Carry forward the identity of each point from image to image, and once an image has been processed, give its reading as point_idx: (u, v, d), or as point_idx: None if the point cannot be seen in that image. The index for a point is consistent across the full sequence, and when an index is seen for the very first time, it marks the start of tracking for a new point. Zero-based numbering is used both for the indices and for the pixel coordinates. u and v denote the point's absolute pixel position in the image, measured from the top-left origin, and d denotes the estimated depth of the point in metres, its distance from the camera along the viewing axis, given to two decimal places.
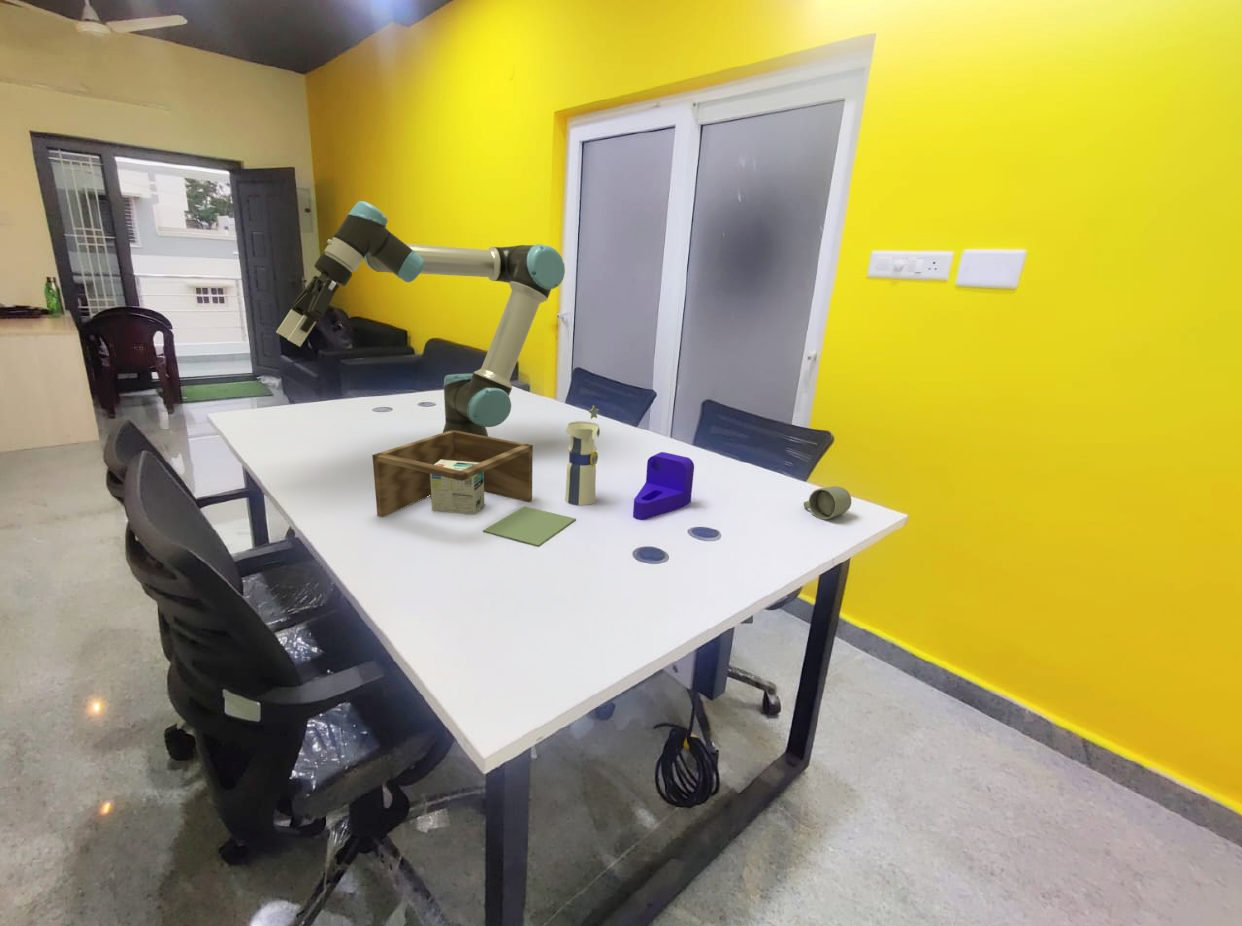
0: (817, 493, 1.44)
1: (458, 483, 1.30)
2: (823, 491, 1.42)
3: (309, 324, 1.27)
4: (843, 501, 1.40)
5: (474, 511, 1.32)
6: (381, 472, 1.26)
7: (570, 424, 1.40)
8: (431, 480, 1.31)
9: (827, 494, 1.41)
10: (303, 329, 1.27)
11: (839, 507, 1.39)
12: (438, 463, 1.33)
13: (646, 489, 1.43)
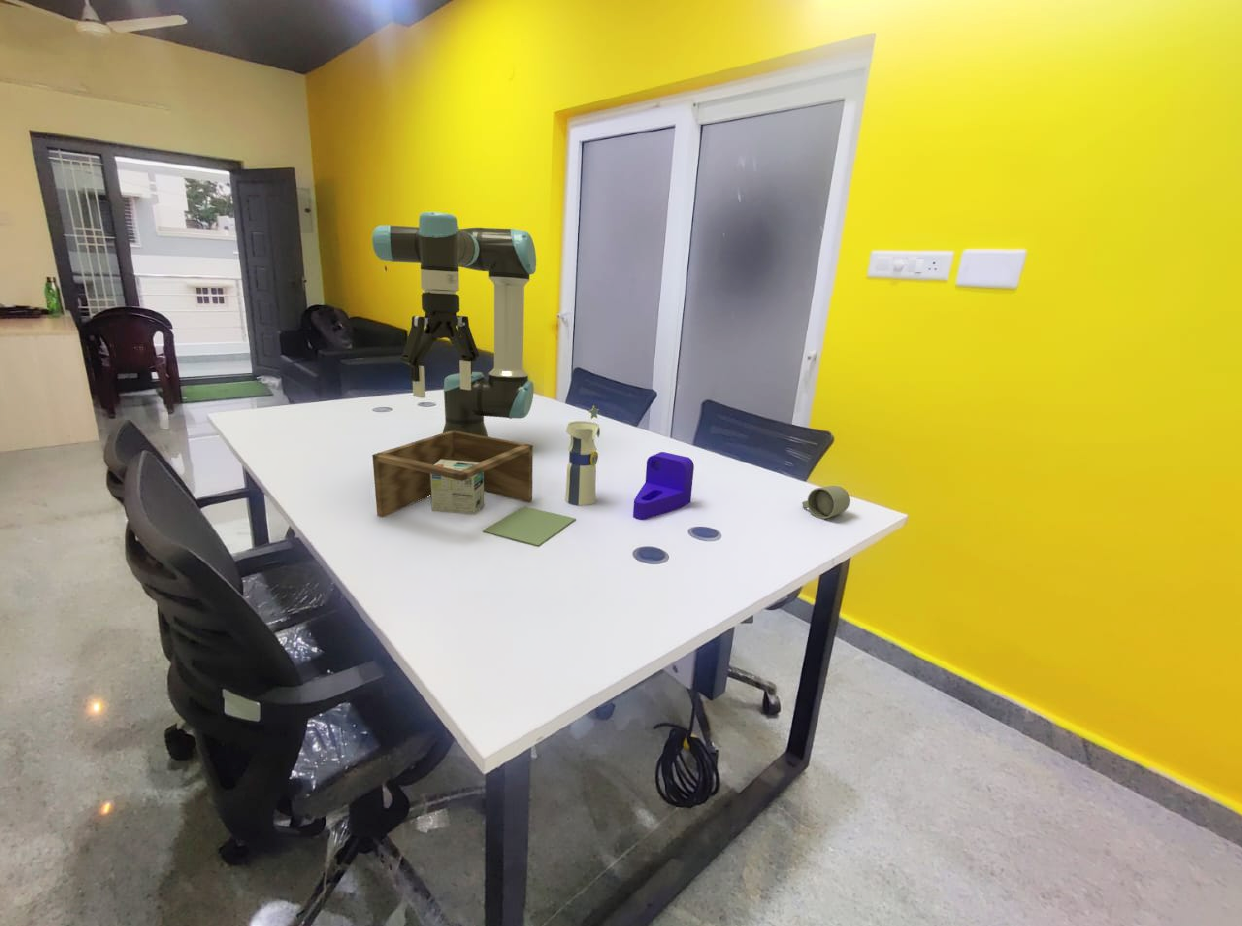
0: (816, 493, 1.44)
1: (458, 483, 1.30)
2: (822, 491, 1.42)
3: None
4: (841, 500, 1.40)
5: (474, 511, 1.32)
6: (381, 472, 1.26)
7: (570, 424, 1.40)
8: (431, 480, 1.31)
9: (826, 494, 1.41)
10: None
11: (838, 506, 1.39)
12: (438, 463, 1.33)
13: (646, 489, 1.43)
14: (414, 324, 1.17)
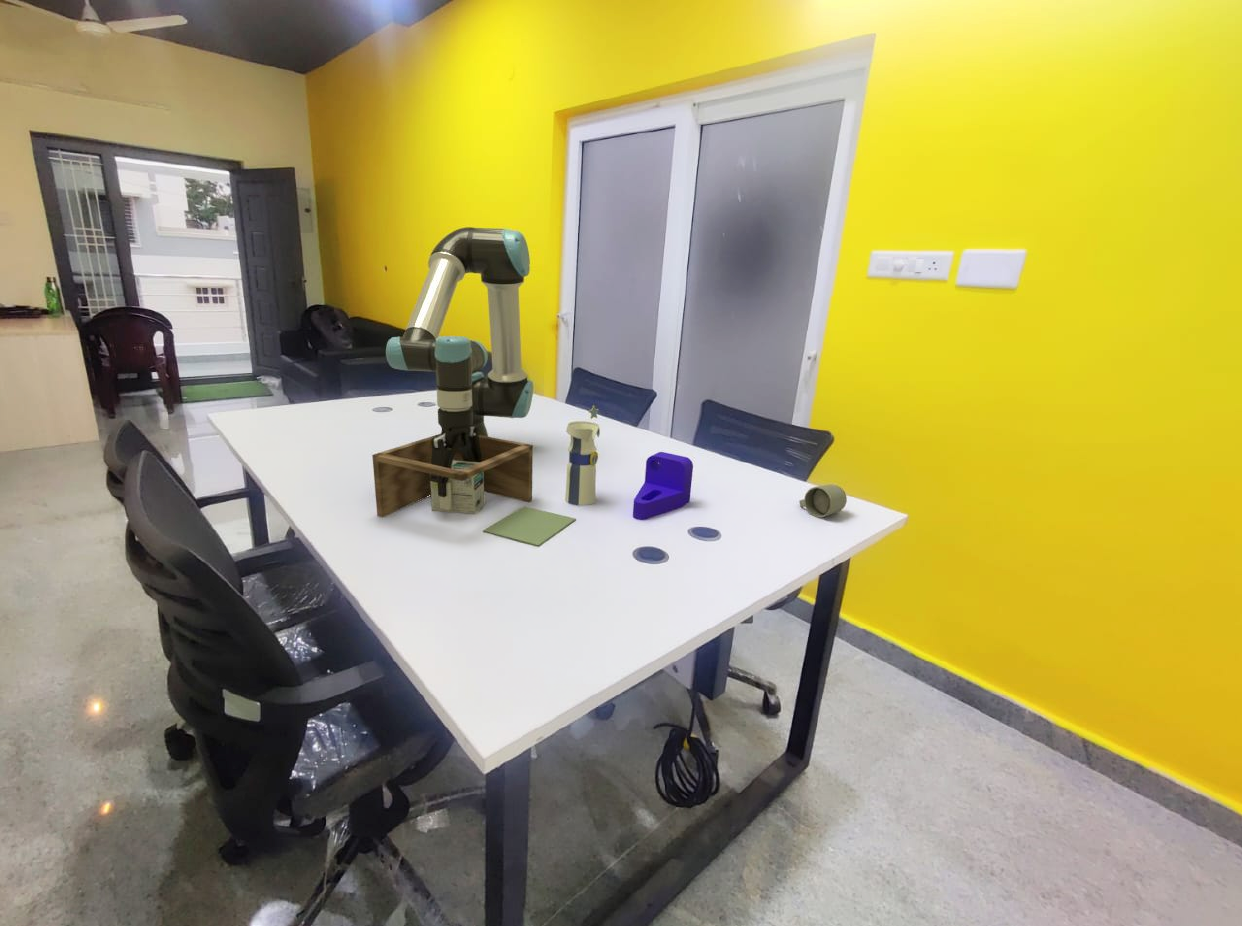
0: (813, 491, 1.45)
1: (458, 483, 1.30)
2: (818, 489, 1.43)
3: None
4: (838, 499, 1.41)
5: (474, 511, 1.32)
6: (381, 472, 1.26)
7: (570, 424, 1.40)
8: None
9: (823, 492, 1.42)
10: None
11: (834, 505, 1.40)
12: None
13: (645, 489, 1.43)
14: (434, 446, 1.25)
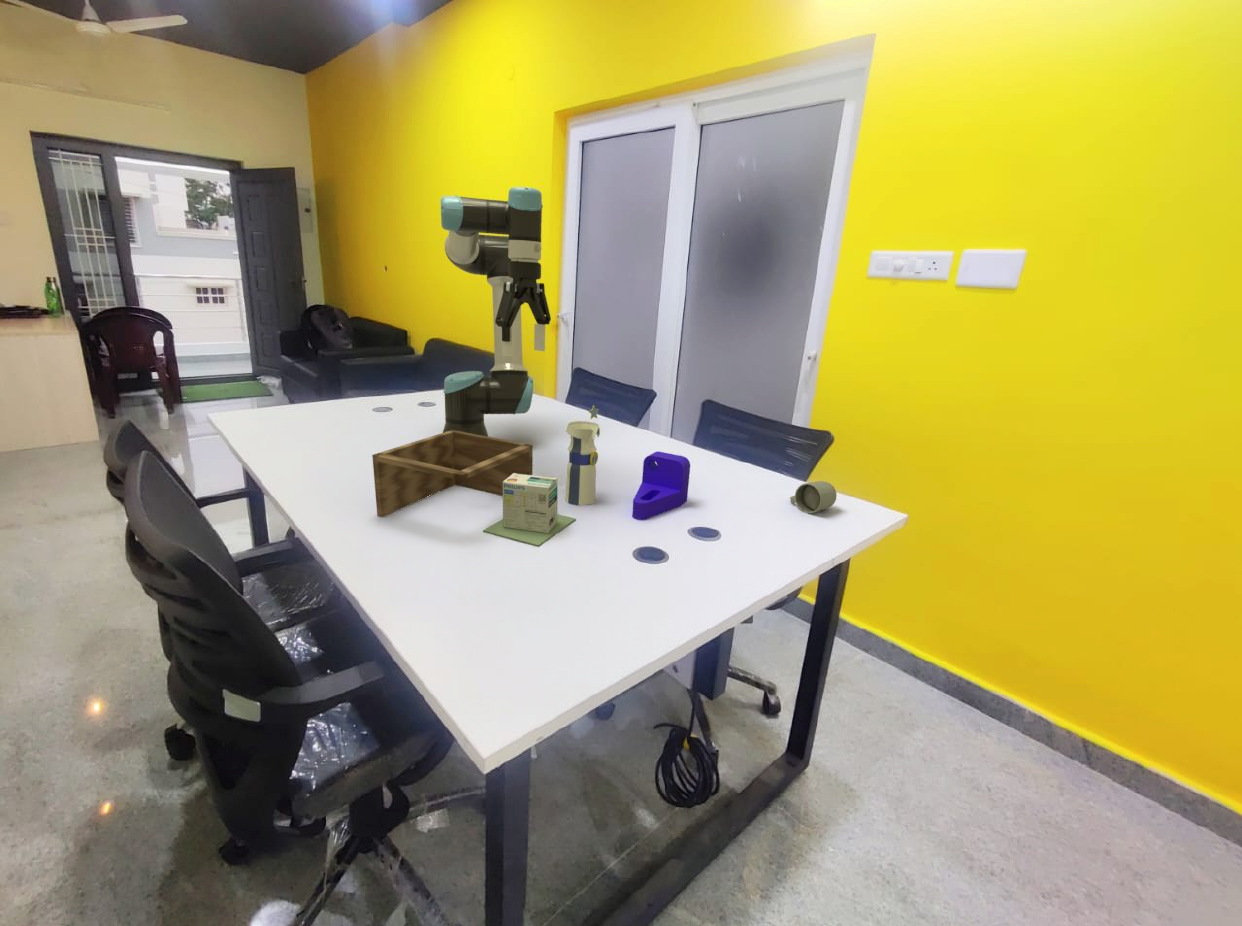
0: (803, 488, 1.47)
1: (531, 500, 1.22)
2: (809, 486, 1.45)
3: None
4: (828, 495, 1.43)
5: (547, 530, 1.24)
6: (381, 472, 1.26)
7: (570, 424, 1.40)
8: (503, 495, 1.23)
9: (813, 489, 1.44)
10: None
11: (824, 501, 1.42)
12: (511, 477, 1.25)
13: (644, 489, 1.43)
14: (506, 289, 1.30)
